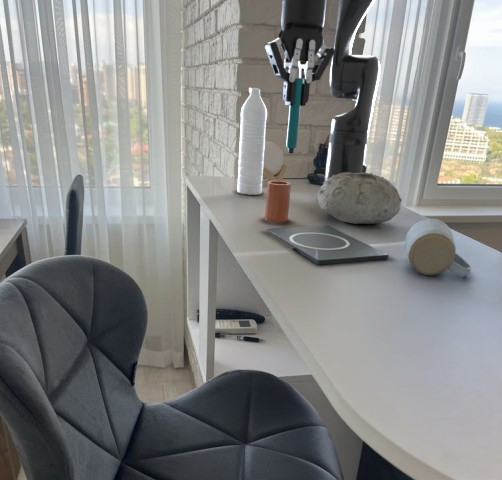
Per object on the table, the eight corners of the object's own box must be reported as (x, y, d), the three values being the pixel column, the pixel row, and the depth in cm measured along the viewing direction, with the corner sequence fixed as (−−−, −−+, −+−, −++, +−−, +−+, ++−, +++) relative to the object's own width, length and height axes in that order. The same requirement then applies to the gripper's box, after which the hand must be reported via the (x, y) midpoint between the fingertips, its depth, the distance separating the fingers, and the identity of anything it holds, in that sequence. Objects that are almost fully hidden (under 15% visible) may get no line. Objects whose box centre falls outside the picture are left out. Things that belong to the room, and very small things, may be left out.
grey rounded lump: (411, 232, 106) (421, 183, 102) (333, 232, 102) (340, 181, 97) (373, 212, 121) (380, 169, 117) (303, 211, 117) (308, 166, 113)
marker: (292, 152, 99) (299, 78, 93) (297, 153, 98) (304, 78, 92) (283, 152, 99) (290, 77, 93) (288, 153, 97) (295, 78, 91)
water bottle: (262, 195, 131) (269, 89, 120) (237, 194, 131) (242, 87, 120) (259, 189, 139) (266, 88, 128) (236, 188, 139) (240, 87, 128)
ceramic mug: (403, 274, 80) (414, 226, 77) (400, 259, 87) (410, 215, 84) (472, 284, 79) (486, 236, 75) (464, 268, 86) (476, 223, 82)
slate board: (327, 229, 104) (328, 225, 103) (387, 259, 87) (388, 254, 87) (266, 232, 98) (266, 228, 98) (317, 265, 82) (318, 259, 82)
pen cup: (281, 218, 110) (284, 180, 107) (291, 223, 106) (295, 184, 103) (261, 219, 108) (263, 180, 105) (270, 224, 104) (273, 185, 101)
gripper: (278, -14, 81) (270, 105, 89) (351, -3, 86) (337, 108, 94) (259, -8, 87) (253, 102, 95) (327, 1, 92) (316, 105, 100)
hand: (295, 104), depth 94 cm, fingers closed on marker, 2 cm apart
